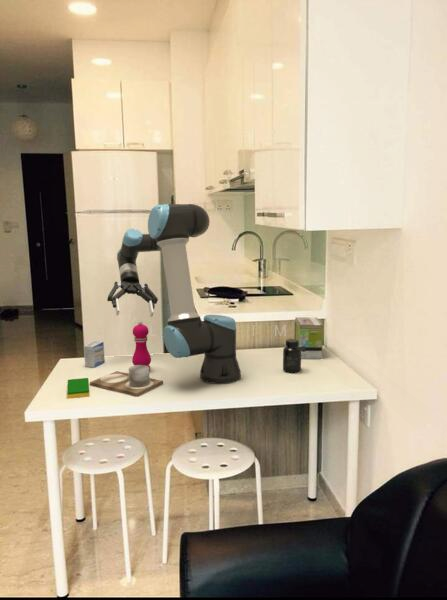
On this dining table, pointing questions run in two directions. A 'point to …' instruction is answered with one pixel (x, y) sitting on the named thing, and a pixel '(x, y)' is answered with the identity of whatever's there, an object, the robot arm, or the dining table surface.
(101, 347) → the medicine box
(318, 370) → the dining table surface
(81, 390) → the dish sponge
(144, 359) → the pepper mill
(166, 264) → the robot arm
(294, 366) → the supplement bottle
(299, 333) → the tea box
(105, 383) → the board
